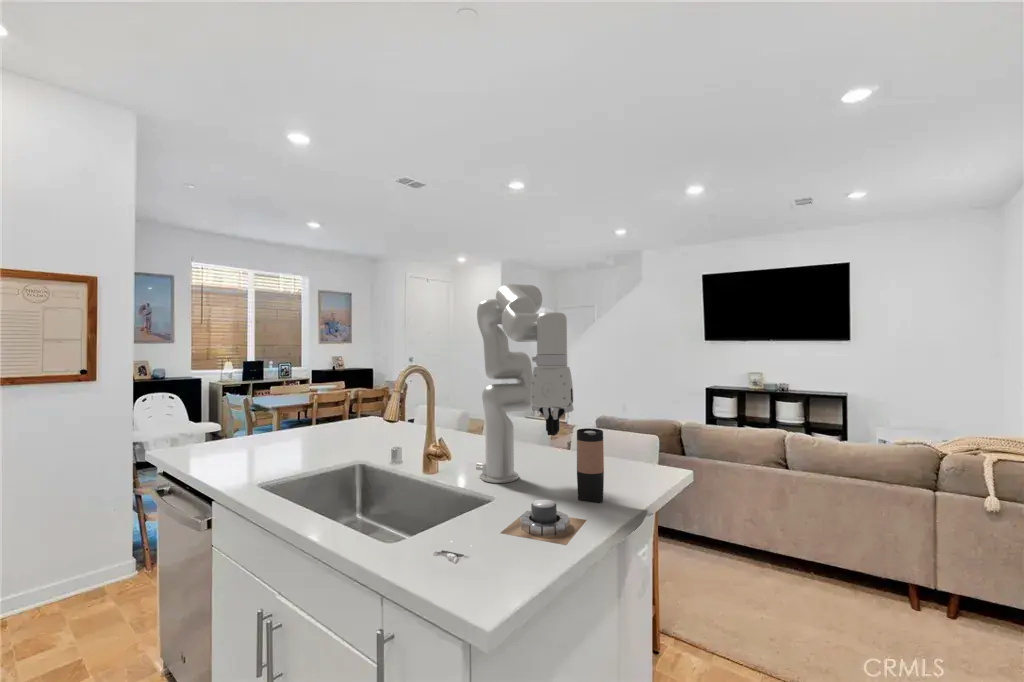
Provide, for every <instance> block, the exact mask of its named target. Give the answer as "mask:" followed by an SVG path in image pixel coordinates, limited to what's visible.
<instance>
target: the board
mask: <svg viewBox="0 0 1024 682" xmlns="http://www.w3.org/2000/svg"><path fill="white" fill-rule="evenodd" d="M528 511H529V510H526V511H525V512H524V513H526V512H528ZM568 517H569V519H570V527H569V529H568V530H567V531H566V532H565V533H562V534H559V535H555V536H543V535H542V536H538V535H533V534H529V533H527V532H525V531H523V530H522V529H521V526H520V516H519V517H517V518H516V519H515V520H513V522H511V523H510V524H509V525H508V526H507V527H505V528H504V529H503V530H502V531H501V532H500V533H499V534H503V535H506V536H507V535H508V536H514V537H518V538H526V539H530V540H536V541H542V542H547V543H553V544H556V545H557V544H558V545H563V546H566V545H567V544H569V542H570V541H571V539H572V538H573V537H574V536H575V535H576V533H577V532H578V531H579V530H580V529H581V527H583V525H584V524H585V522H587V519H582V518H578V517H576V518H575V517H570V516H568Z"/></svg>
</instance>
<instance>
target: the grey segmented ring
mask: <svg viewBox="0 0 1024 682" xmlns="http://www.w3.org/2000/svg"><path fill="white" fill-rule="evenodd" d="M527 511H528V512H526V511H525V512H526V513H525V512H524V513H523V514H521V515H520V516H519V517H520V526H521V529H522V530H523V531H525V532H527V533H529V534H533V535H538V536H542V535H543V536H555V535H559V534H562V533H565V532H566V531H567V530H568V529H569V527H570V519H569V517H570V516H568V514H566V513H564V512H562V511H560V510H559V511H558V510H556V511H557V522H555V523H552V524H541V523H535V522H533V521H532V514H531V510H527Z"/></svg>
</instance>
